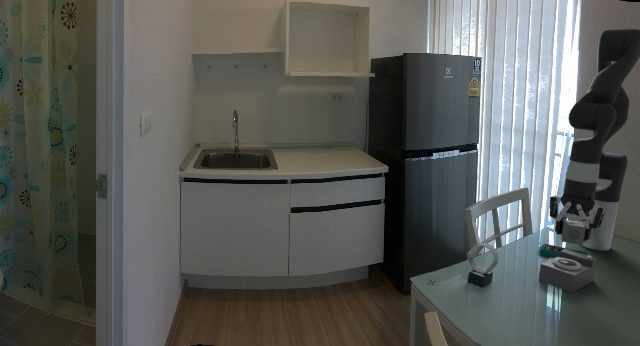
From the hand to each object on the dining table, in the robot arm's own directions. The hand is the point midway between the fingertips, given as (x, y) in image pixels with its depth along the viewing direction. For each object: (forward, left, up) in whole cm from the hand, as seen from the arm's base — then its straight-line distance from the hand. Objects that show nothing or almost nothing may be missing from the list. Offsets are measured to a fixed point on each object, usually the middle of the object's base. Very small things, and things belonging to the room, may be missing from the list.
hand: (571, 237), depth 125 cm
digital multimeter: (-21, -9, -14) cm, 26 cm away
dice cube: (0, 0, -1) cm, 1 cm away
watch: (+22, -13, -13) cm, 29 cm away
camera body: (-1, 0, -13) cm, 13 cm away
